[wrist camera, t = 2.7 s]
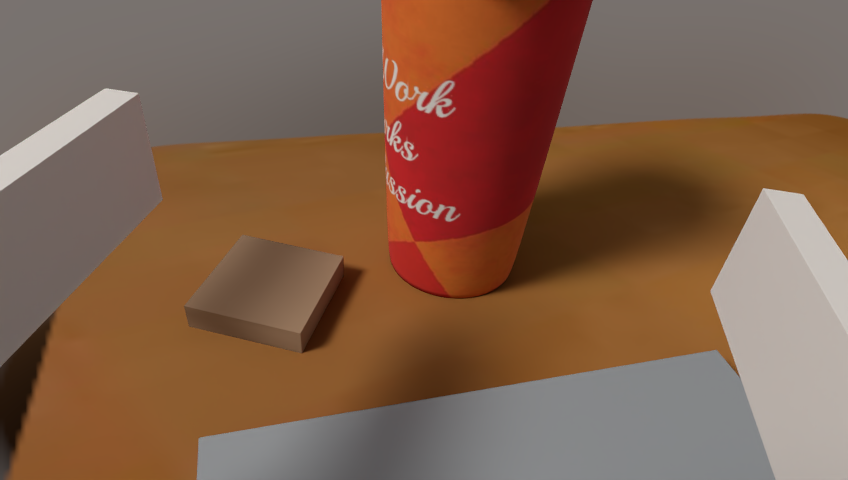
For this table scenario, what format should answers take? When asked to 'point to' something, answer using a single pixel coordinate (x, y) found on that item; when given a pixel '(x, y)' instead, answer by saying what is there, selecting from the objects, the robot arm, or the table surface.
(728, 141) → the table surface
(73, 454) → the table surface
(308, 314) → the block
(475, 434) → the slate board
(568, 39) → the paper cup
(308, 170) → the table surface
